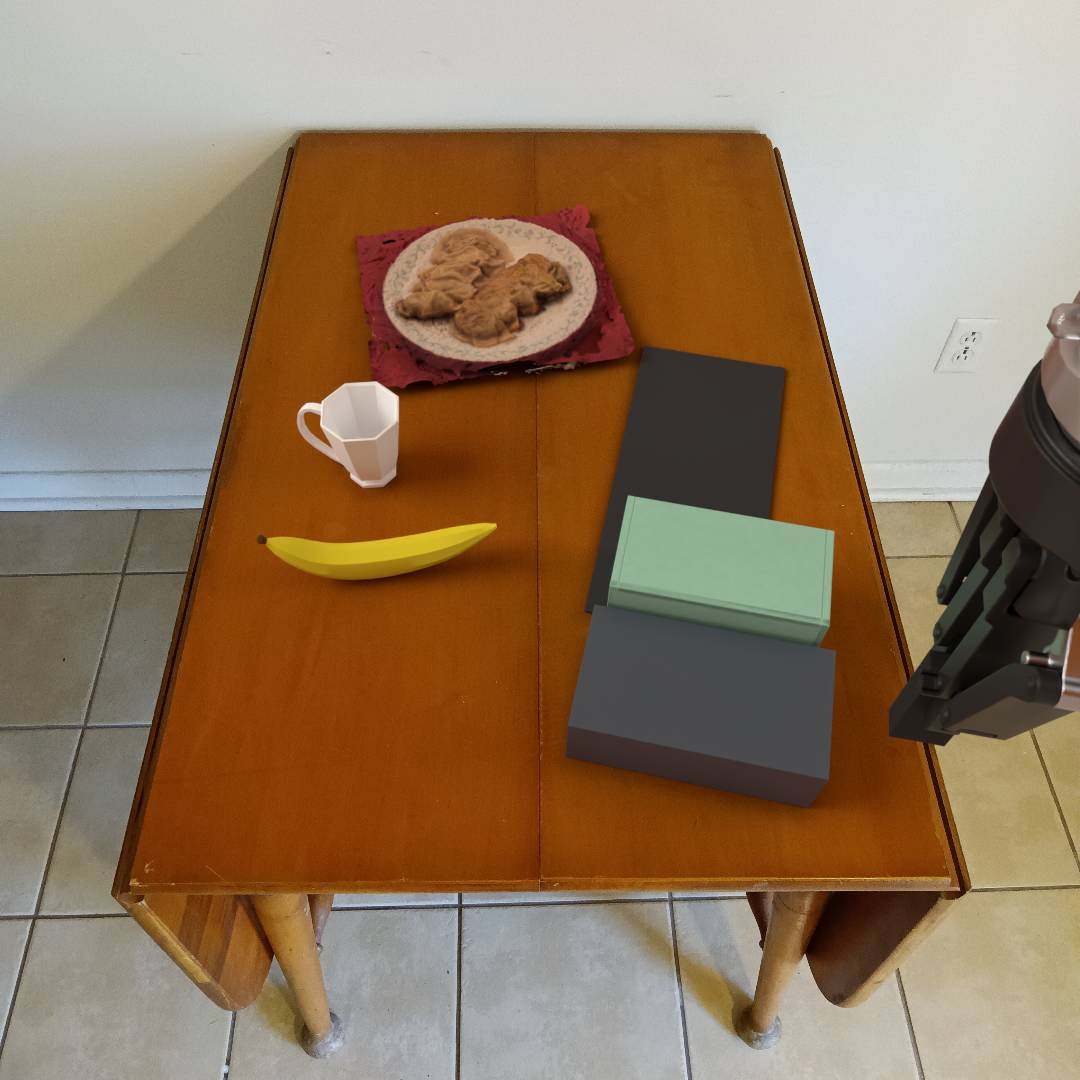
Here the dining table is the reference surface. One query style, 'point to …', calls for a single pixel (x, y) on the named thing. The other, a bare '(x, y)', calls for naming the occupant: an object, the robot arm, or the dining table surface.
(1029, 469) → the robot arm
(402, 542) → the banana
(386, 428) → the cup
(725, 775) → the block
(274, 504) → the dining table surface
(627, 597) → the open box
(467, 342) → the plate with food
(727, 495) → the mat
